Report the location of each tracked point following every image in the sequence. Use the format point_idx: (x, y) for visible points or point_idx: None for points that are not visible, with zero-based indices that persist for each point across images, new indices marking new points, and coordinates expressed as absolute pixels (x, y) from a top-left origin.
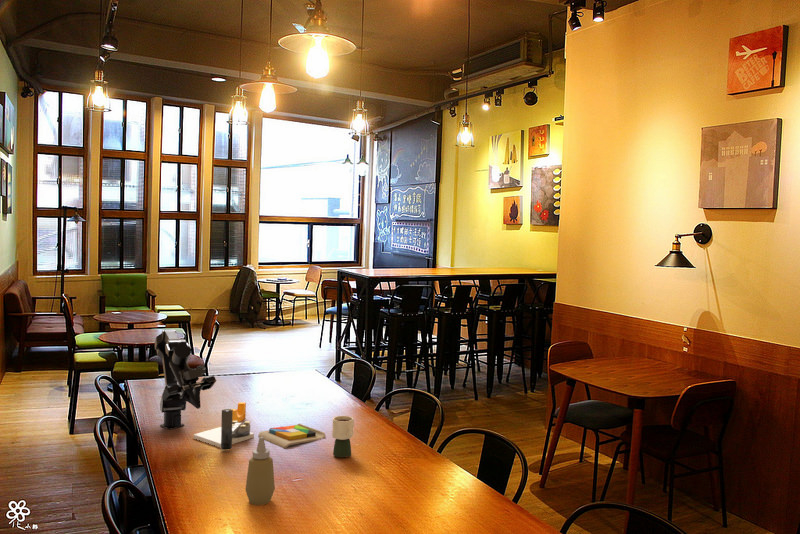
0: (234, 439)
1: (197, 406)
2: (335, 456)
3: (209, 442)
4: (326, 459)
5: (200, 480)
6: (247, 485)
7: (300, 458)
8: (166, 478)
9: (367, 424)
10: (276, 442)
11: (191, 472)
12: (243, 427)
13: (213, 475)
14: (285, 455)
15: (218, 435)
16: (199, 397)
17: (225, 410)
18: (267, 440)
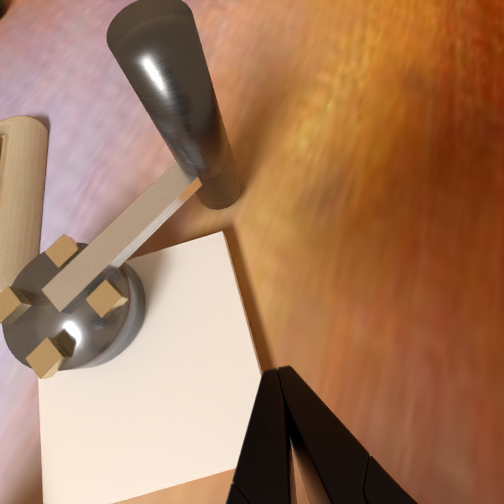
0: (146, 255)
1: (299, 381)
2: (1, 3)
3: (244, 309)
4: (28, 11)
5: (394, 6)
6: None
7: (72, 40)
8: (496, 52)
9: None
10: (35, 168)
11: (405, 65)
12: (71, 239)
13: (346, 23)
14: (88, 75)
15: (177, 351)
16: (240, 484)
17: (161, 29)
18: (38, 219)
